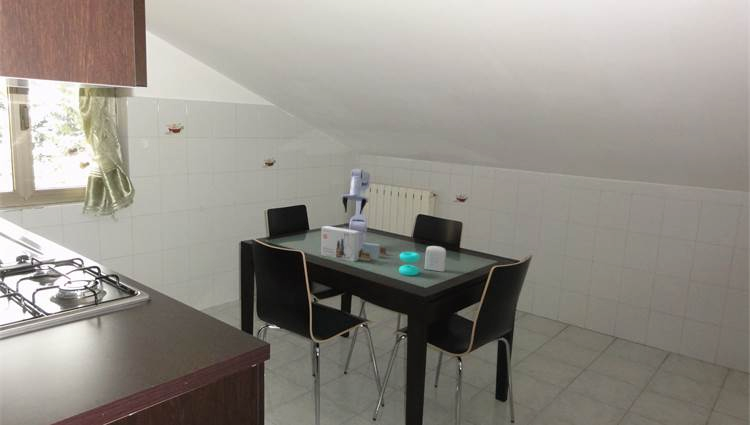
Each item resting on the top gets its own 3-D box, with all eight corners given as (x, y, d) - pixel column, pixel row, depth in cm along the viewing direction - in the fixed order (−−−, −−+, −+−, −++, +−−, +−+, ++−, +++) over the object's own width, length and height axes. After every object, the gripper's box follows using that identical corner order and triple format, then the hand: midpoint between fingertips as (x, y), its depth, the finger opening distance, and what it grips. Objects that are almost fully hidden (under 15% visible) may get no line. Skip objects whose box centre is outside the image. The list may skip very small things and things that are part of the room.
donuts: (421, 252, 267) (419, 257, 257) (419, 271, 269) (418, 277, 259) (401, 250, 269) (398, 255, 259) (400, 269, 270) (397, 275, 261)
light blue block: (364, 254, 296) (364, 242, 295) (379, 257, 293) (380, 244, 292) (362, 256, 294) (362, 243, 292) (377, 258, 291) (378, 245, 289)
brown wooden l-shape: (363, 251, 303) (363, 244, 303) (385, 254, 299) (386, 247, 298) (355, 256, 292) (355, 249, 292) (378, 259, 288) (379, 252, 287)
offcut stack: (362, 258, 289) (362, 250, 288) (371, 259, 287) (371, 251, 286) (360, 259, 286) (361, 251, 285) (369, 260, 285) (369, 252, 284)
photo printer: (445, 270, 273) (446, 246, 271) (443, 272, 269) (445, 248, 267) (425, 267, 276) (426, 244, 274) (423, 269, 272) (425, 246, 270)
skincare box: (320, 255, 291) (320, 227, 288) (325, 253, 295) (326, 225, 293) (353, 262, 281) (354, 232, 278) (359, 259, 286) (360, 230, 283)
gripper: (342, 184, 280) (339, 207, 275) (370, 187, 282) (367, 211, 276) (341, 190, 287) (338, 213, 281) (368, 193, 288) (366, 216, 282)
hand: (353, 212), depth 279 cm, fingers open, 7 cm apart
